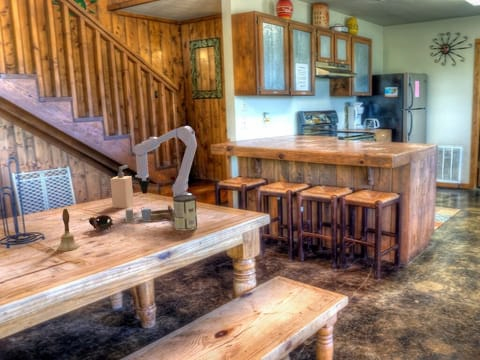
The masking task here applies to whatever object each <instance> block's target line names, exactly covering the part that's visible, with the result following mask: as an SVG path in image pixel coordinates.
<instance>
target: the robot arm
mask: <svg viewBox="0 0 480 360" xmlns="http://www.w3.org/2000/svg"><path fill="white" fill-rule="evenodd" d="M195 134H196V132H195V130H194V129H193V128H192V127H191V126H189V125H185V126H180V127H178V128H174V129H172V130H169V131H168V132H166V133H164V134H162V135H160V136H159V137H157V136H150V137H149V138H148V139H147V140H143V141H141V143H137V144H136V145H135V146H134V148H133V152H134V153H135V160H136V161H135V162H136V175H135V178H137V182H138V183H139V186H140V187H139V188H140V190H141V193H142V195H143V194H144V195H147V193H148V188H149V183H150V180H149V177H150V174H149V162H148V160H149V159H148V152H149V153H150V152H151V151H153V150H156V149H157V148H160V147H161V144H162V143H163V142H166V141H169V140H171V139H173V138H175V139H180V140H181V141H182V142H183V143H184V144H185V146H186V148H185V151H184V155H183V158H182V162H181V164H180V169H179V173H178V176H177V178H176V179H175V182H174V183H173V185H172V187H171V191H172V192H173V197H175V196H180V195H192V193H190V192H188V191H187V190H188V188H189V183H188V182H189V175H190V172H191V168H192V164H193V161H194V158H195V157H194V156H195V153H196V151H197V147H198V142H197V138H196V135H195ZM172 209H173V211H174V208H172Z"/></svg>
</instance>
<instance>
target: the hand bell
mask: <svg viewBox="0 0 480 360" xmlns="http://www.w3.org/2000/svg"><path fill="white" fill-rule="evenodd" d="M61 215H62V216H61V217H62V222H63V224H64V233H63V234H61V236H60V243H59V245H58V246H57V248H56V249H57V250H58V251H60V252H67V251H74V250H77V249H79V248H80V244H79V243H77V241H76V240H75V236H74V234H73V233H72V232H70V226H69V223H70V213H69V211H68V209H67V208H63V210H62V214H61Z"/></svg>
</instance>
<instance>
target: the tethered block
mask: <svg viewBox="0 0 480 360" xmlns="http://www.w3.org/2000/svg"><path fill="white" fill-rule="evenodd" d="M140 211H141V216H140V217H134V209H133V208H129V209H128V208H126V209H125V221H126V223H130V222H131V223H132V222H135V221H134V220H141V221H142V222H146V221H147V222H148V221H151V211H152V207H150V206H148V207H141V208H140Z"/></svg>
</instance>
